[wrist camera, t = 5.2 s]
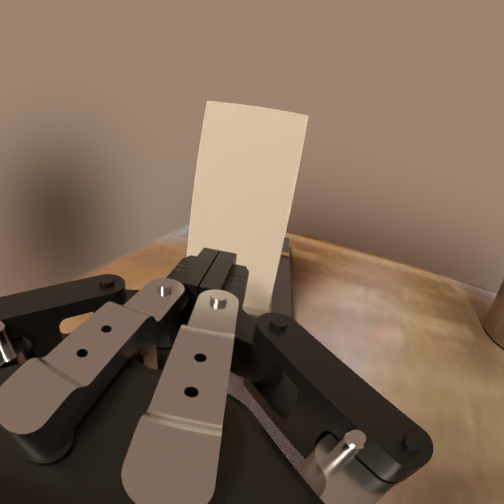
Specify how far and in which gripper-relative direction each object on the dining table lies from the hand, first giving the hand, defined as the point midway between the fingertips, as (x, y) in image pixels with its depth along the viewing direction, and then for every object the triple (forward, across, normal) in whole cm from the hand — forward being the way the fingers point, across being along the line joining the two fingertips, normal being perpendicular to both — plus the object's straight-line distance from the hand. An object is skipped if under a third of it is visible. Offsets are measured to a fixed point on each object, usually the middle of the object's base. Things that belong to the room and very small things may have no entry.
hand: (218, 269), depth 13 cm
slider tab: (+6, 0, +6) cm, 8 cm away
